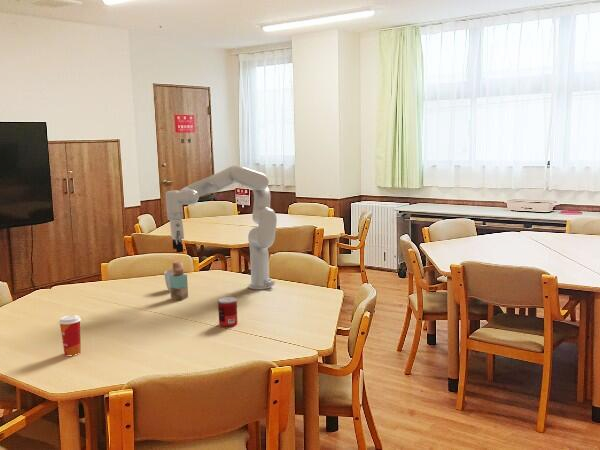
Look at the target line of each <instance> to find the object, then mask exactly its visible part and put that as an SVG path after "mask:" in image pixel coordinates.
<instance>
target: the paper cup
mask: <svg viewBox="0 0 600 450" xmlns="http://www.w3.org/2000/svg"><path fill="white" fill-rule="evenodd" d="M81 320H82V319H81V317H80V315H78V314H72V315H65V316H62V317H60V318H59V321H58V324H59V326H60V334H61V339H62V347H63V351H64V356H65V355H75V354H78V353H80V354H81ZM78 355H79V354H78Z"/></svg>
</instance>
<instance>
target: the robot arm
mask: <svg viewBox="0 0 600 450" xmlns="http://www.w3.org/2000/svg"><path fill="white" fill-rule="evenodd" d="M269 181H270V180H269V178H268V176H267V175H266V174H265V173H262V172H259V171H256V170H253V169H250V168H247V167H246V166H245V167H244V166H242V165H232V166H229V167H226V168H225V169H223V170H221V171H219V172H216V173H214V174H211V175H210V176H207V177H205V178H203V179H200V180H198V181H195V182H193V183H190V184H189V185H187V186H184V187H183V188H181V189H180V190H176V189H174V190H168V191H166V192H165V204H166V216H167V217H166V218H167V220H168V221H169V225H170V236H171V239H172V249H173V250H176V253H183V252H184V246H183V245H184V244H183V240H185V234H184V233H185V232H184V225H183V219H184V211H183V209H184V208H183V205H186V206H187V205H190V206H191V205H195V204H197V202H198V201H199V198H200V197H202V196H204V195H208V194H214V193H219V192H221V191H222V190H224V189H227V188H228V187H230V186H232V185H235V184H241V185H243V186H246V187H248V188H250V190H251V191H252V193H253V208H252V217H251V218H252V222H254V224H257V225H258V226H255V227H253V228H251V230H249V232H248V236H247V237H248V238H247V239H248V246H249V256H250V257H249V258H250V260H249V261H250V279H251V280H250V283H249V284H248V285H247V286H248V288H249V289H252V290H267V289H271V288H273V286H275V284H276V281H274V280H272V278H271V277H270V263H269V262H270V259H269V258H270V257H269V255H270V254H269V248H271V247H272V246H273V244H274V243H275V239H276V232H277V221H278V220H277V214H276V212H275V210H274V209H272V208H271V199H272V198H271V190H270V188H269Z"/></svg>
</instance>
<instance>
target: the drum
mask: <svg viewBox="0 0 600 450" xmlns="http://www.w3.org/2000/svg"><path fill="white" fill-rule="evenodd" d="M172 270H173V276H182V275H184V274H185V273H184V263H183V262H182V261H174V262H173V263H172Z"/></svg>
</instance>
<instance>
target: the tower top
mask: <svg viewBox="0 0 600 450" xmlns="http://www.w3.org/2000/svg"><path fill="white" fill-rule="evenodd" d="M170 287H172V288H175V289H180V288H184V287H188V274H186V273H184V275H182V276H173V275H170ZM188 288H189V287H188Z"/></svg>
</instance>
